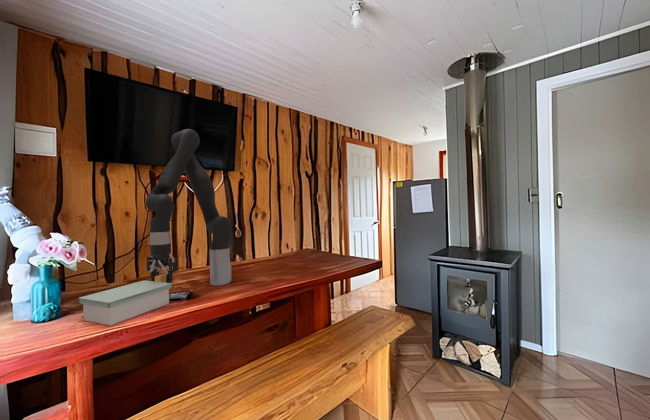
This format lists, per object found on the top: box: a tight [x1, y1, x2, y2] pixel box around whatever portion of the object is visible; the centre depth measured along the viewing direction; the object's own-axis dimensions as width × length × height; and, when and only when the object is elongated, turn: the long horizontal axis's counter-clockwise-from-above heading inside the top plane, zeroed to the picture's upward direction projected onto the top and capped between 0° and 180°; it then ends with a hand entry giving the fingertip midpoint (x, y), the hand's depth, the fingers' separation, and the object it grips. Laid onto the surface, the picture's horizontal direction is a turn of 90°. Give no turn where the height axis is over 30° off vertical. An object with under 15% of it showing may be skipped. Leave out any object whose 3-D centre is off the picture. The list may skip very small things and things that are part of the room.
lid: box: [78, 273, 173, 308], centre depth 102 cm, size 27×16×4 cm, turn 159°
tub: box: [82, 289, 170, 326], centre depth 101 cm, size 21×14×7 cm, turn 159°
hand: (161, 282), depth 113 cm, fingers open, 8 cm apart
